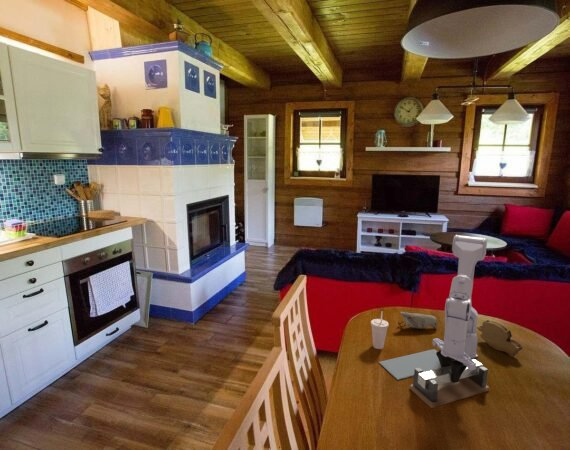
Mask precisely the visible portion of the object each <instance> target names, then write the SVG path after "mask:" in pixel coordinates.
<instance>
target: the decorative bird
mask: <svg viewBox="0 0 570 450" xmlns="http://www.w3.org/2000/svg"><path fill="white" fill-rule="evenodd" d="M399 315H400V316H402V319H403V320H402V321H401V322H399V321H397V322H398V325H399V327H400V329H401V330H402V331H403V330H404V329H403V328H404V327H406V326H407V327H410V328H413V329H420V330H423V329H425V328H428V327H431V328H433V329H437V328H438V324H439V323H438V319H437V317H436V316H434V315H432V314H422V313H417V312H416V313H414V312H413V313H412V312H411V313H410V312H407V311H399ZM403 323H405V324H404V325H401V324H403Z"/></svg>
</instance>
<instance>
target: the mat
mask: <svg viewBox="0 0 570 450" xmlns="http://www.w3.org/2000/svg"><path fill="white" fill-rule="evenodd" d="M436 352H438V350H436V349H435V348H433V349H428V350H425V351H420V352H415V353H412V354H407V355H403V356H399V357H394V358H389V359H385V360H382V361H379V362H378V364H380V365H381V366H382V368H384V370H386V371H387V372H388V373H389V374H390V375H391V376H392V377H393V378H395V379H396V380H397V381H400V380H404V379H407V378H412V377H414V371H415V368H420V369H421V370H423V372H427V371H431V370H434V369H438V368H441V365H440V361H439V359H438V357H437V355H436Z"/></svg>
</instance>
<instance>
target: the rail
mask: <svg viewBox="0 0 570 450" xmlns="http://www.w3.org/2000/svg"><path fill="white" fill-rule="evenodd" d="M472 360H473V361H474V362H475V363H476V369H475V370H472V371H470V370H469V369H468V367H467V368H466V369H465V370H464V371H463V373H462V375H461V377H460V379H462V378H466V377H470V376H473V375H477V374H479V367H483V365H484V364H482V362H480V361H478V360H477V359H475V358H472ZM451 374H452V372H451V366H446V367H442V368H438V369H434V370H431V371H427V372H423V373H419V374H418V384H420V385H421V386H422V387H423V388H424V389H427V388H429V383H430V381H431V380H435V381H436V382H438V385H441V384H445V383H448V382H452V381H451Z"/></svg>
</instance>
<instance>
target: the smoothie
mask: <svg viewBox="0 0 570 450" xmlns="http://www.w3.org/2000/svg"><path fill="white" fill-rule="evenodd" d="M383 312H384V311H381V313H380V318H374V319H372V320H370V326H371V332H372V333H371V336H372V347H373V349H377V350H383V349H384V345H385V341H386V338H387V337H386V336H387V331H388V328H389V325H390V324H389V322H388V321H387V320H385V319H383V317H384V316H383V315H384V314H383Z"/></svg>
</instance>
